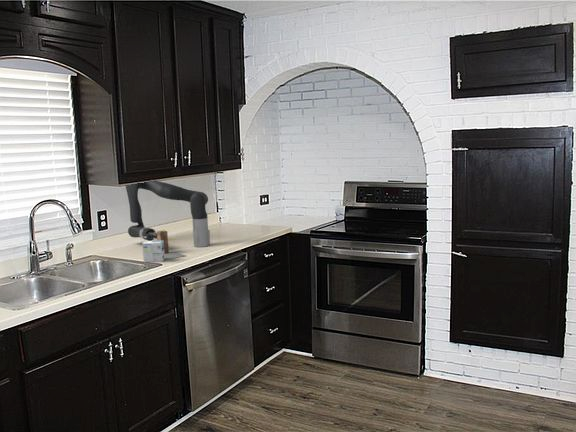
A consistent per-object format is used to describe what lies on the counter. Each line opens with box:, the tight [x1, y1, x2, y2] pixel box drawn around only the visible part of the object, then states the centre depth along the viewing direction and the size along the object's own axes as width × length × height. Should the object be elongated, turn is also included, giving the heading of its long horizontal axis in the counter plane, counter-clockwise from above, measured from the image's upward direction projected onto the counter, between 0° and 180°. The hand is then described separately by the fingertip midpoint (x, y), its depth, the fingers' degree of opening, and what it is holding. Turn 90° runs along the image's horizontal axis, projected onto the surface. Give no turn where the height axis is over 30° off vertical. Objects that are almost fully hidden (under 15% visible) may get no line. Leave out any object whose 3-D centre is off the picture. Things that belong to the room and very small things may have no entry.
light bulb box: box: [142, 240, 166, 263], centre depth 312 cm, size 11×7×11 cm, turn 92°
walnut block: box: [156, 229, 170, 254], centre depth 330 cm, size 4×4×13 cm
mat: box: [164, 251, 187, 261], centre depth 323 cm, size 12×14×1 cm
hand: (159, 237), depth 332 cm, fingers closed
